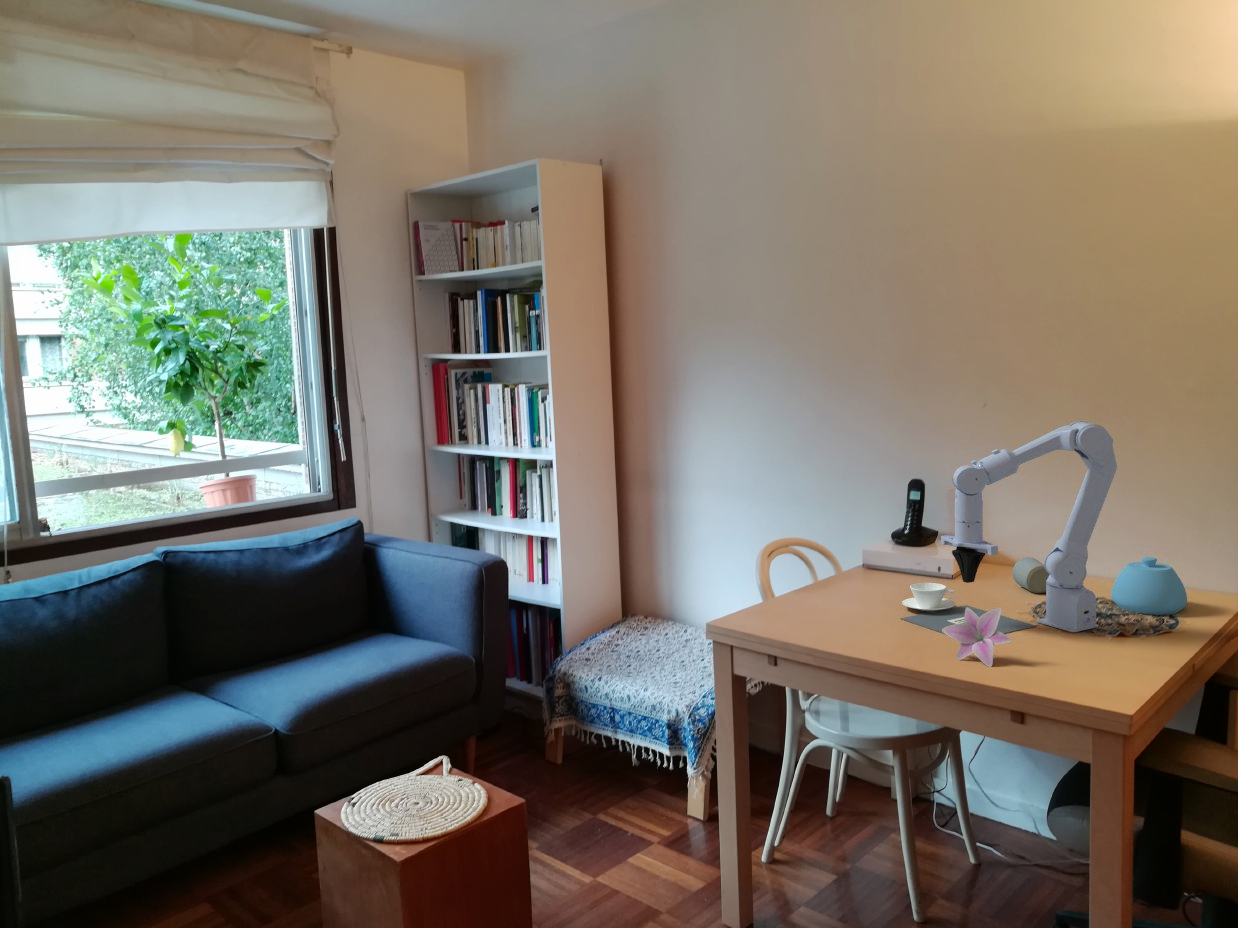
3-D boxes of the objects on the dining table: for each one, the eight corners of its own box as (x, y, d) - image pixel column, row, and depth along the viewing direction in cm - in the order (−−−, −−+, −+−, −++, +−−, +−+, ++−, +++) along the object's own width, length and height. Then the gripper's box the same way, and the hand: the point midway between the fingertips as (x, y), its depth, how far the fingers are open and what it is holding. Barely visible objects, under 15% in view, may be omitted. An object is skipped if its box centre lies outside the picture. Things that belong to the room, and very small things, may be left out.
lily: (936, 654, 187) (932, 621, 181) (980, 625, 189) (977, 592, 184) (981, 689, 177) (978, 654, 172) (1027, 658, 180) (1025, 623, 175)
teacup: (957, 615, 208) (957, 592, 207) (902, 614, 211) (901, 592, 211) (954, 602, 219) (953, 581, 219) (901, 601, 223) (901, 580, 222)
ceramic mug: (1026, 595, 223) (1027, 564, 223) (1011, 587, 232) (1012, 557, 231) (1069, 593, 224) (1070, 562, 223) (1052, 585, 232) (1053, 555, 231)
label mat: (1036, 626, 199) (1036, 625, 199) (967, 641, 190) (967, 640, 190) (966, 605, 217) (966, 604, 217) (900, 618, 208) (900, 617, 208)
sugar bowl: (1182, 620, 199) (1184, 568, 197) (1105, 611, 208) (1106, 561, 206) (1190, 603, 211) (1191, 554, 209) (1117, 595, 220) (1117, 548, 218)
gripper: (930, 518, 205) (930, 577, 207) (980, 527, 192) (980, 591, 194) (954, 514, 208) (954, 573, 210) (1005, 524, 195) (1005, 586, 197)
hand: (968, 581), depth 202 cm, fingers closed
